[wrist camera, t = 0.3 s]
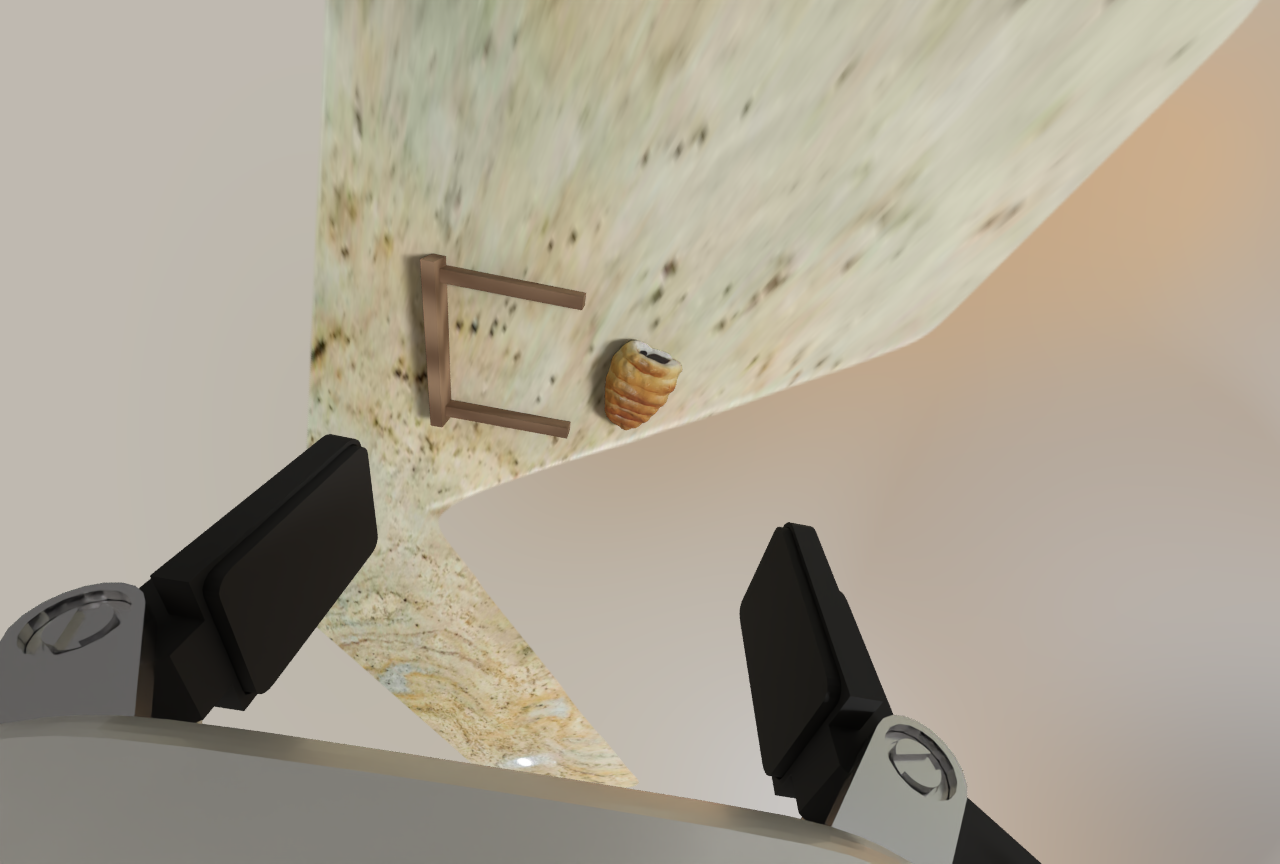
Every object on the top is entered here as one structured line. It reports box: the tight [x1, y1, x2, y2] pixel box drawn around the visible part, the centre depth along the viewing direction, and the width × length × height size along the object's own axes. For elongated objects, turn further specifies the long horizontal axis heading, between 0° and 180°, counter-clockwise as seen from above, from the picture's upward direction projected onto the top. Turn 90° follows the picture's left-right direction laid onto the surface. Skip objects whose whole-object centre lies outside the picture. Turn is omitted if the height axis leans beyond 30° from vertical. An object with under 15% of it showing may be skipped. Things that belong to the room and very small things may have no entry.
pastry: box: [605, 340, 682, 430], centre depth 47 cm, size 9×7×4 cm
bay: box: [420, 254, 586, 438], centre depth 46 cm, size 17×14×2 cm
